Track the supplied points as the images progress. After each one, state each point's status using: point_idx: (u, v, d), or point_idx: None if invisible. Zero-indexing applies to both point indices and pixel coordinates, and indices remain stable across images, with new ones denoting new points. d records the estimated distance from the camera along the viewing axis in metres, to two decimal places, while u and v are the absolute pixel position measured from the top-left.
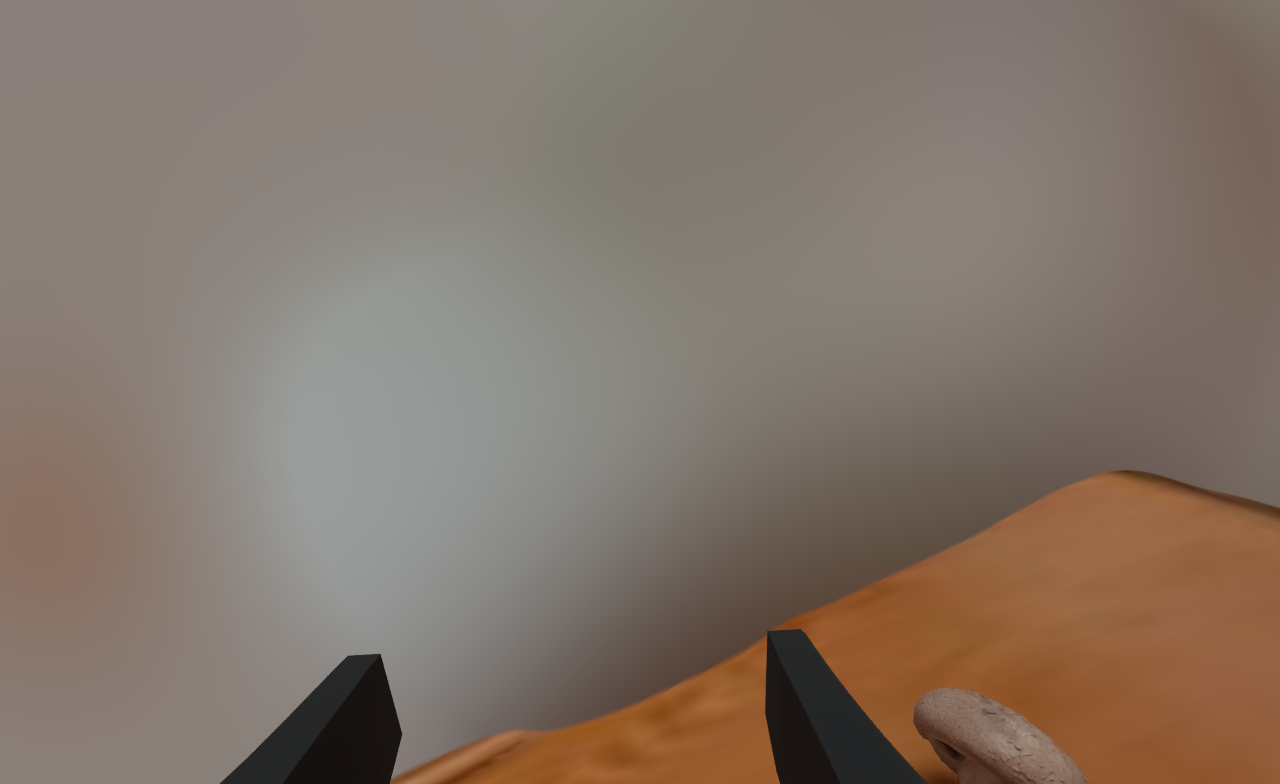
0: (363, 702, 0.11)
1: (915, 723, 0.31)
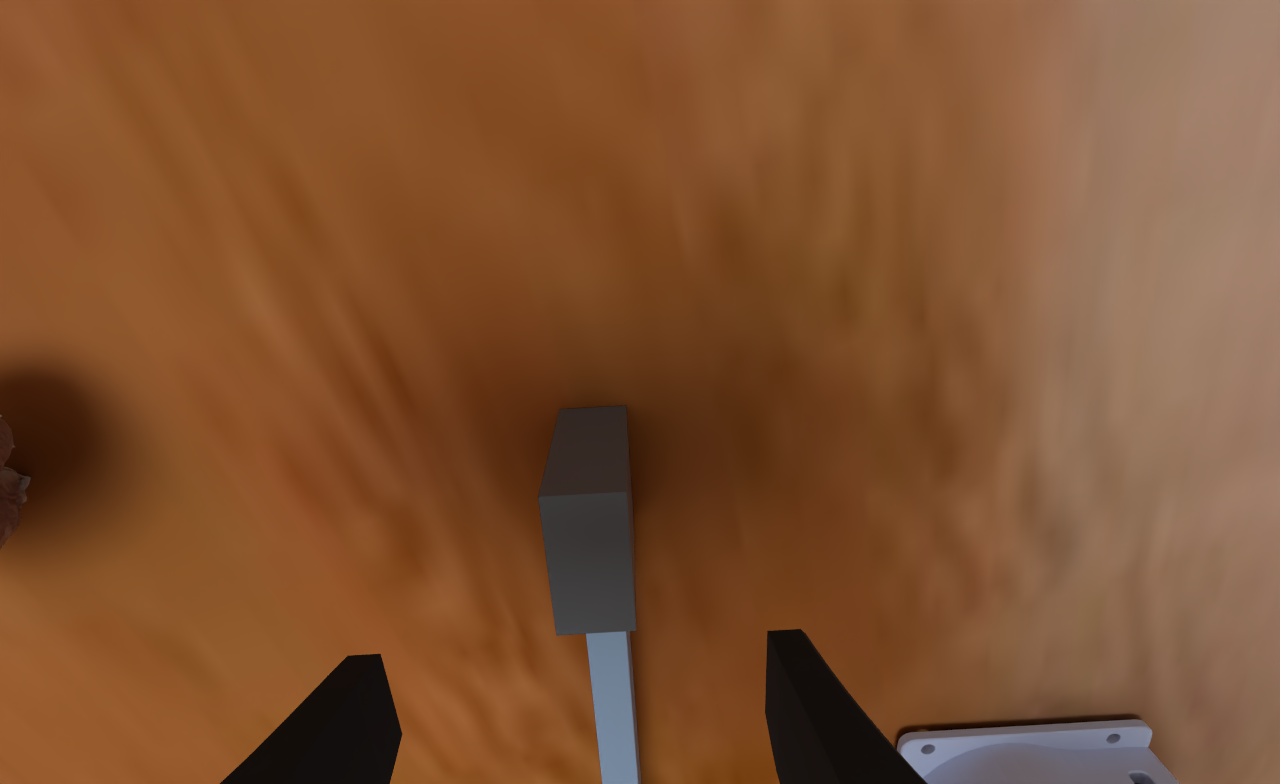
0: (363, 702, 0.11)
1: None
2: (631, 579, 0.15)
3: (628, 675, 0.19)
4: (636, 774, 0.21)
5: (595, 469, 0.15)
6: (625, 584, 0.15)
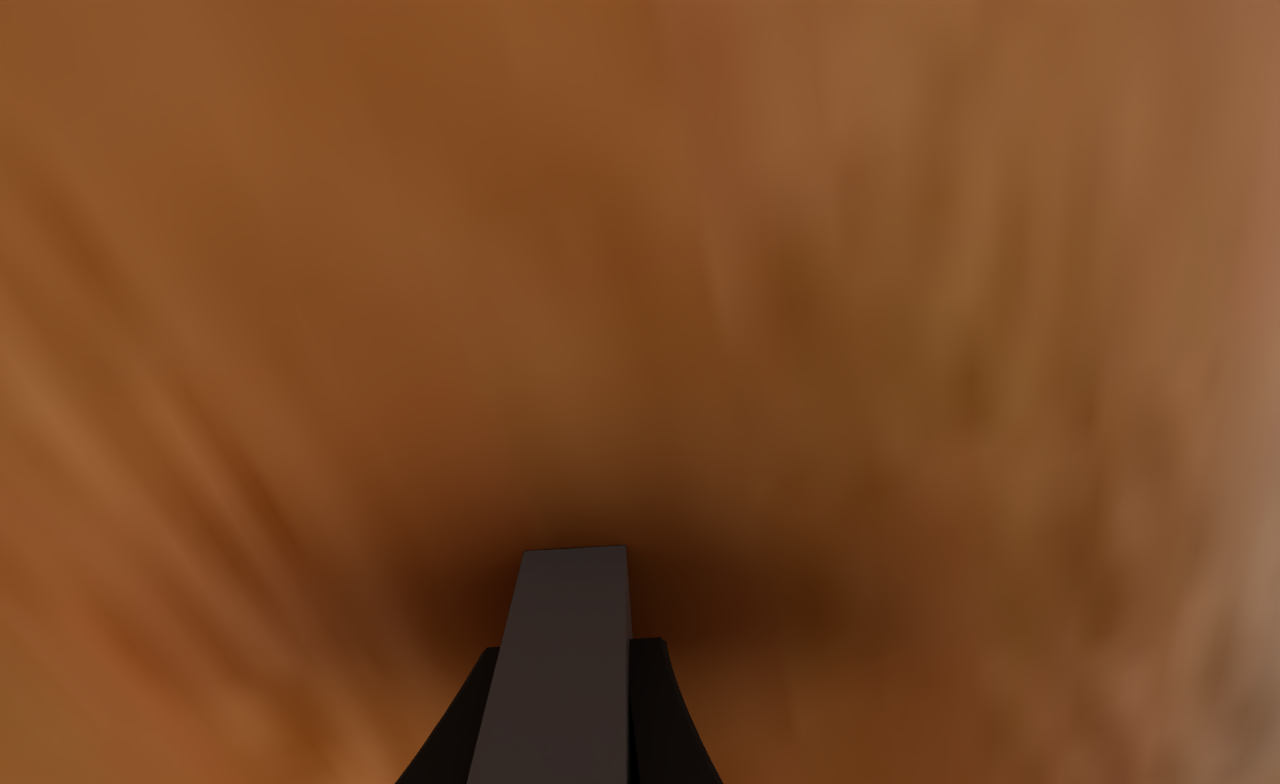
0: None
1: None
2: None
3: None
4: None
5: (571, 716, 0.09)
6: None
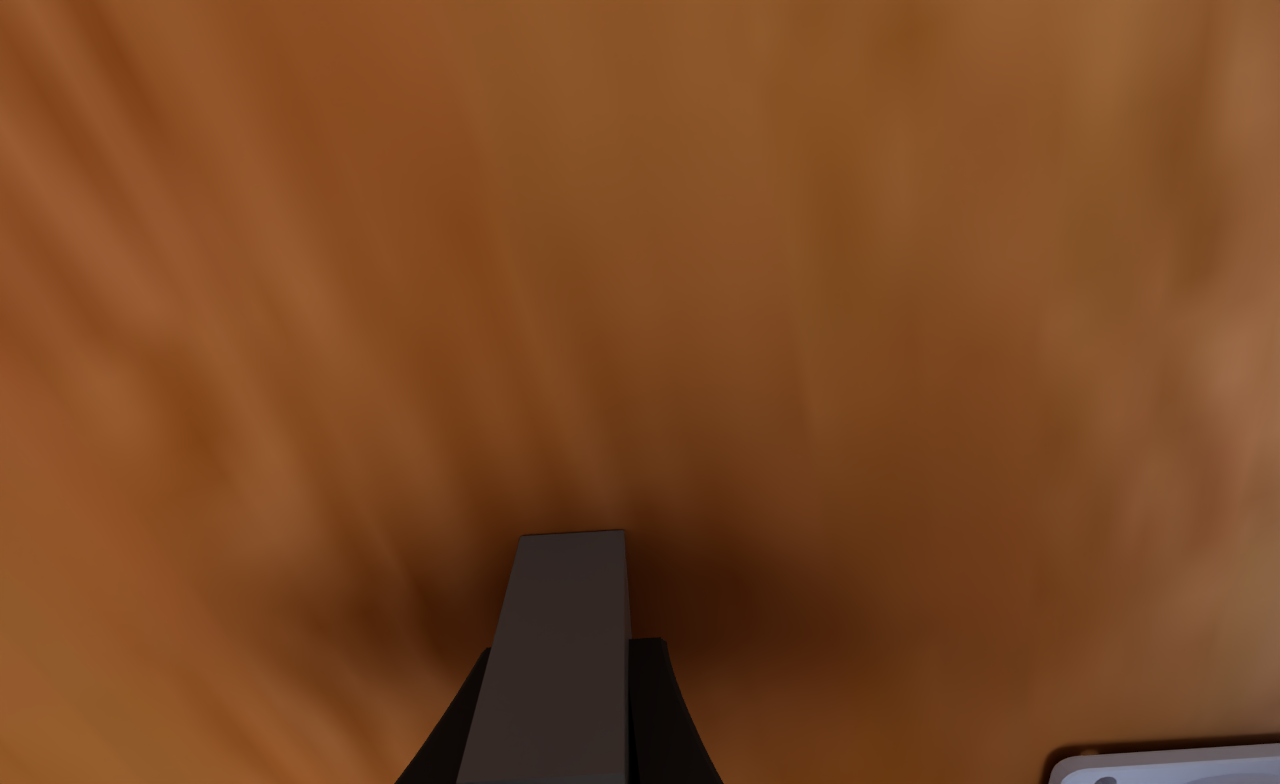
0: None
1: None
2: None
3: None
4: None
5: (568, 698, 0.08)
6: None
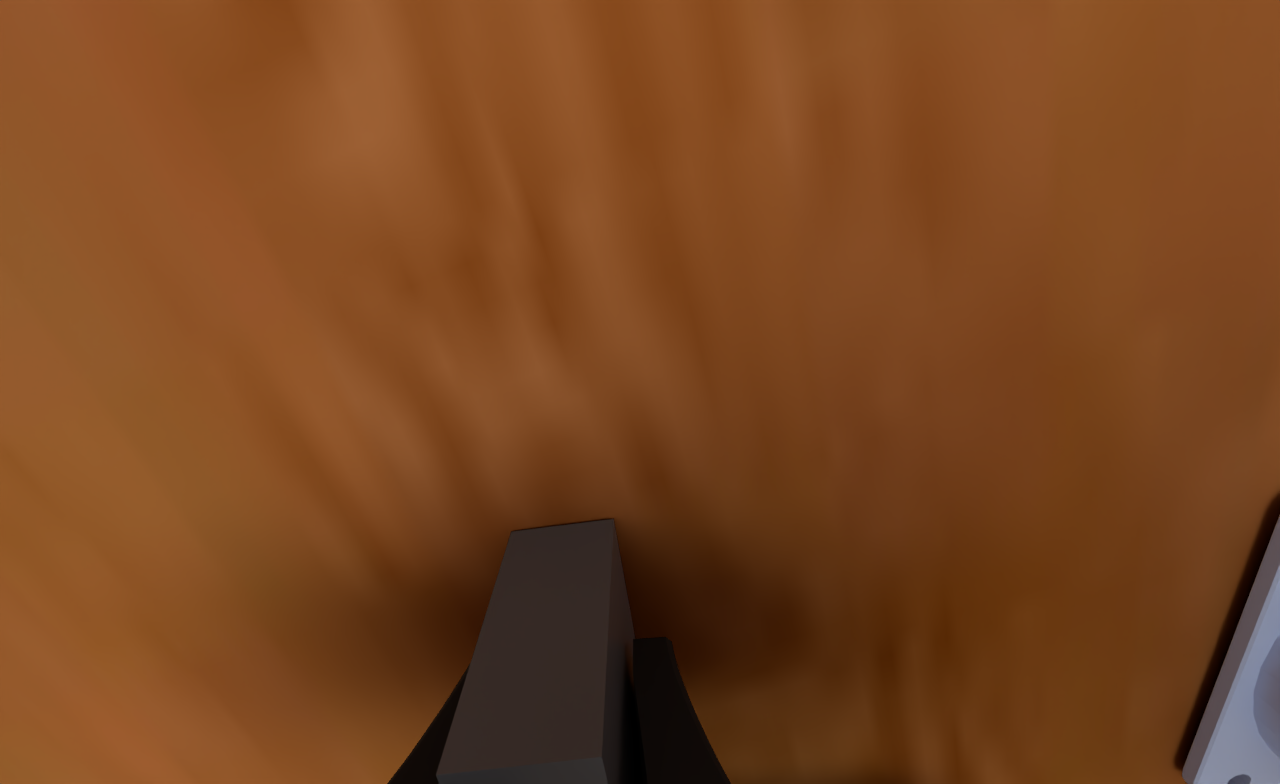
0: None
1: None
2: None
3: None
4: None
5: (549, 686, 0.08)
6: None
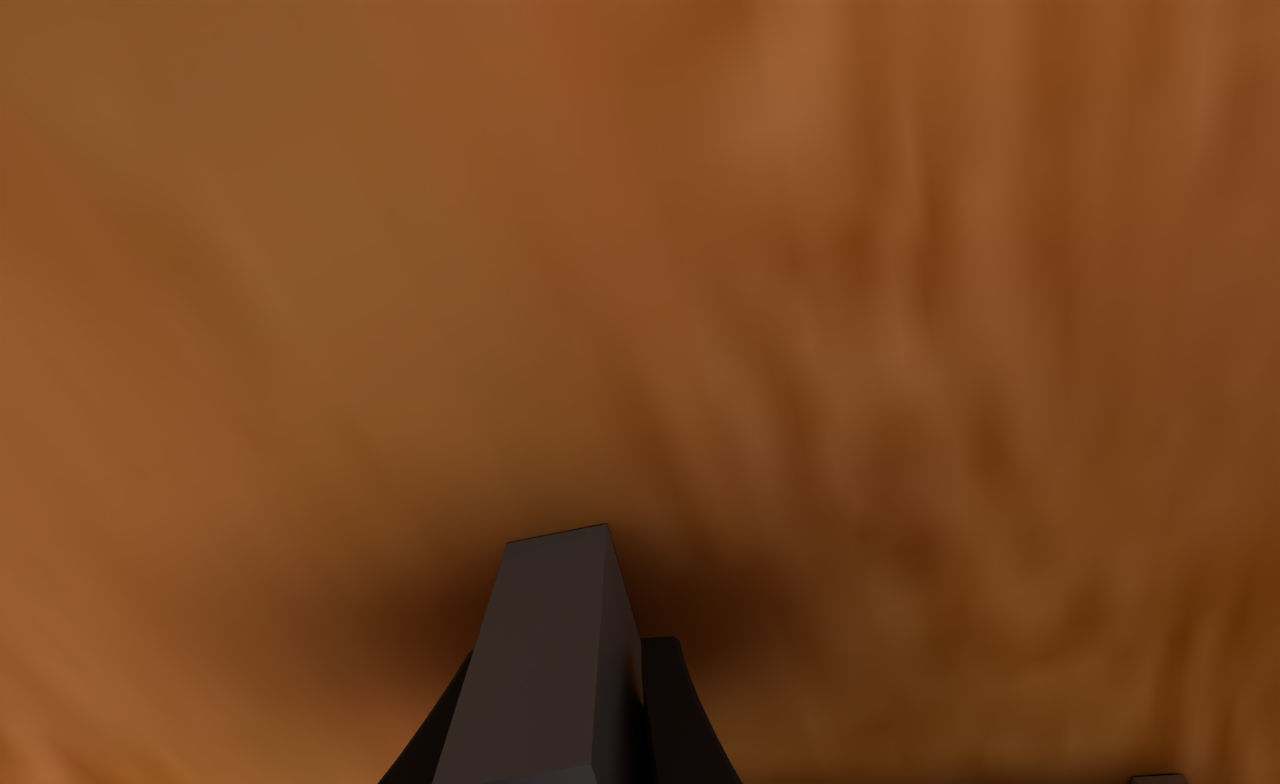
0: None
1: None
2: None
3: None
4: None
5: (542, 696, 0.08)
6: None
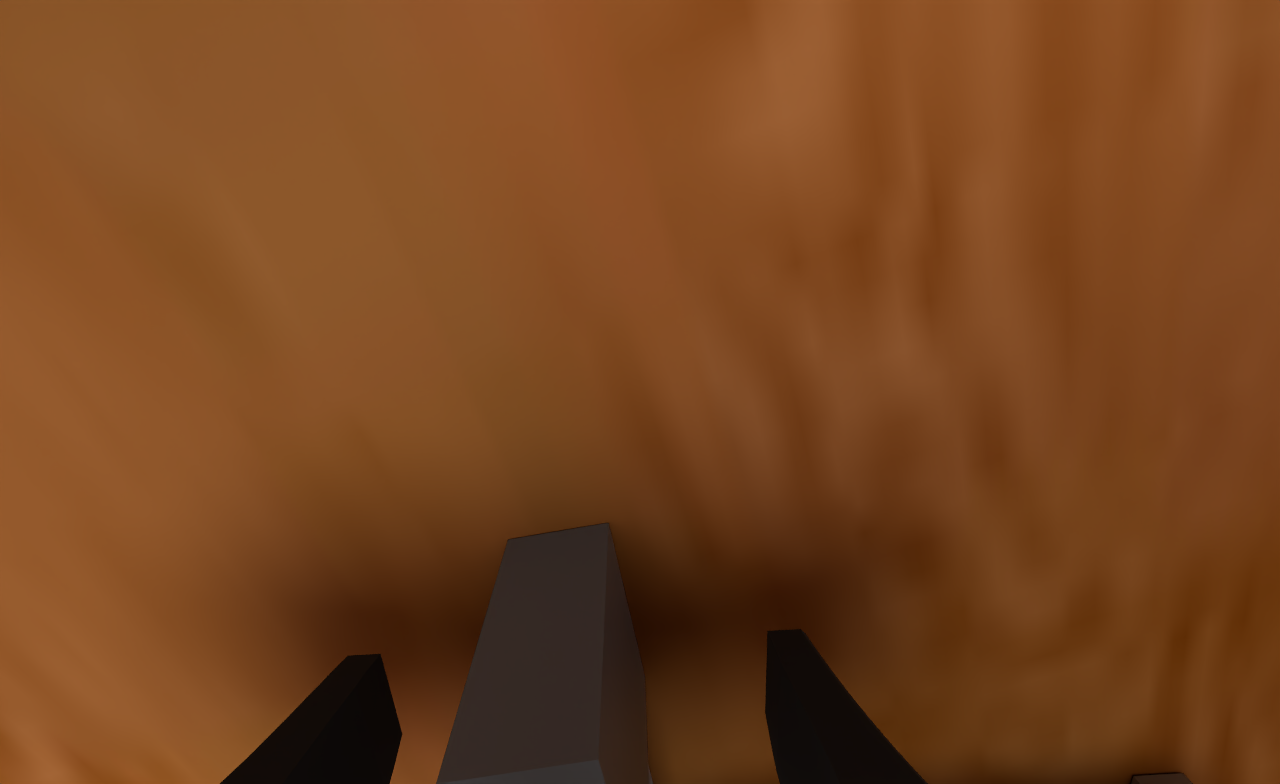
0: (363, 702, 0.11)
1: None
2: None
3: None
4: None
5: (547, 692, 0.09)
6: None
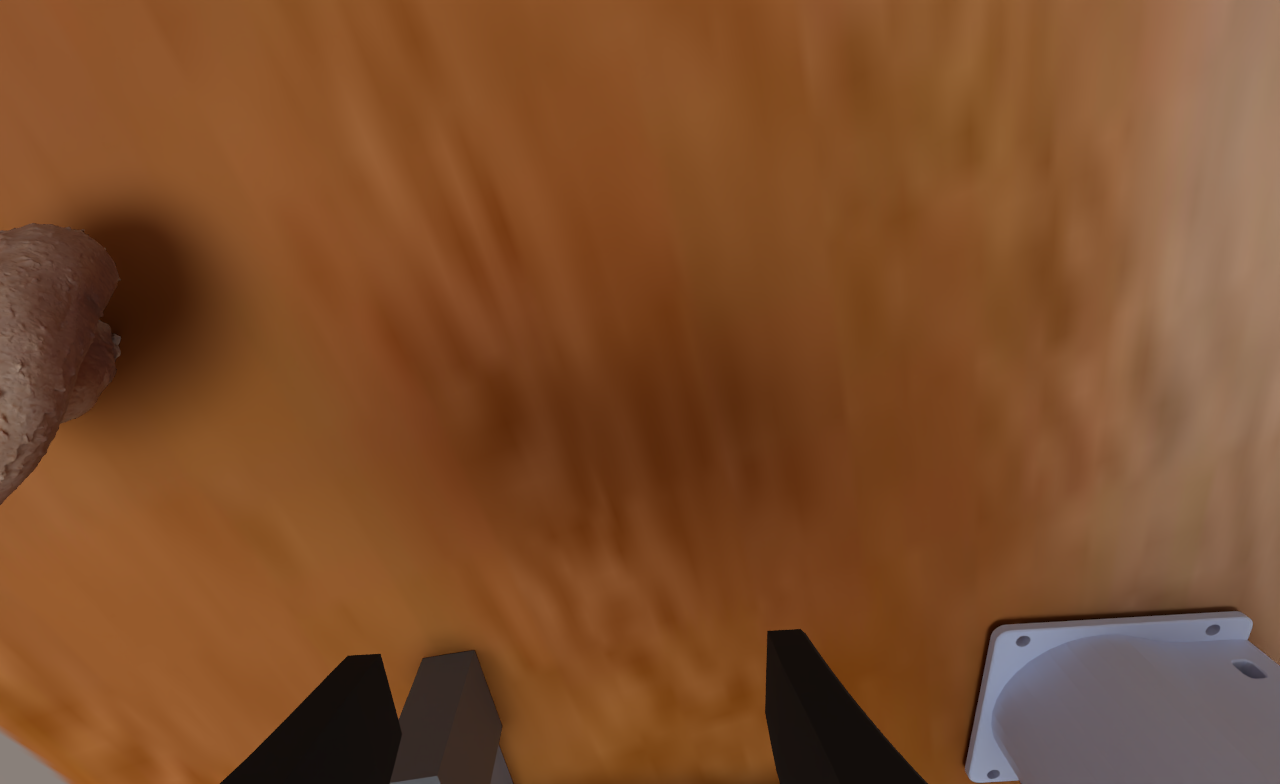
0: (363, 702, 0.11)
1: None
2: None
3: None
4: None
5: (424, 745, 0.20)
6: None
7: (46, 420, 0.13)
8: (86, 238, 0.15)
